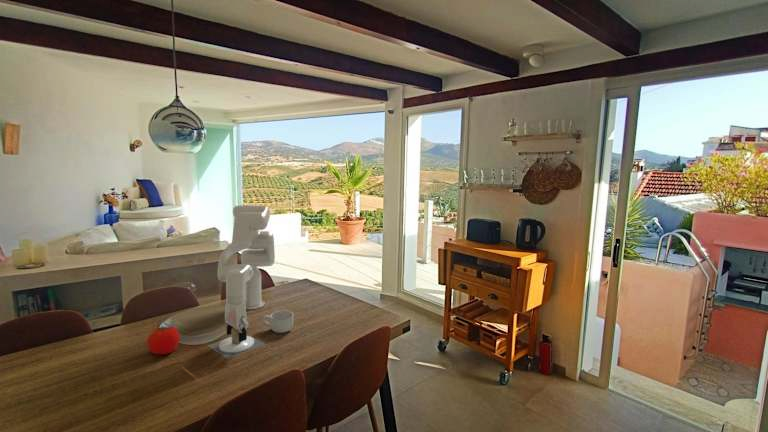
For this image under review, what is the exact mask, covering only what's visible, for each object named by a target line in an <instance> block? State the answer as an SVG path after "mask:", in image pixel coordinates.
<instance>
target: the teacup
mask: <svg viewBox="0 0 768 432" xmlns="http://www.w3.org/2000/svg"><path fill="white" fill-rule="evenodd" d="M294 316H295V314H294V312H292V311H290V310H285V309H284V310H275V311H273V312H272V313H270V315H269V314H266V315H264V316H263V317H262V322H263V323H264V324H265V325H267V326H268V327H270V329H271V330H272V331H273V332H274V333H278V334H283V333H287V332H290V331H291V330H292V328H293V327H294ZM266 318H267V319H268V320H269V321H270V322H268V321H267V320H266Z"/></svg>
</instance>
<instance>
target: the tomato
mask: <svg viewBox="0 0 768 432" xmlns="http://www.w3.org/2000/svg"><path fill="white" fill-rule="evenodd" d="M179 343H180V333H179V331H178V329H177V328H176V327H175V326H173V325H172V326H161V327H157V328H156V329H154V330H153V331H152V332H150V333H149V335H148V336H147V339H146V346H147V347H148V350H150V351H151V352H152V353H153V354H155V355H167V354H169V353H172V352H174V351H175V350H176V349H177V347H178V346H179Z"/></svg>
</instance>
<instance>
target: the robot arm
mask: <svg viewBox="0 0 768 432" xmlns="http://www.w3.org/2000/svg"><path fill="white" fill-rule="evenodd" d="M232 214H233V217H234V221H233V229H232V238H231V242H230V244H229V245H227V246H226V247H225V248H224V249H223V251H222V252H221V254H220V256H219V259H218V264H217V274H216V276H217V279H218V280H219V282H221V283H225V295H226V296H225V306H224V322H225V326H226V335H227V336H230V335H232V332H231V329H232V328H233V327H234V328H237V327H238V329H239V331H240V332H239V342H242V341H245V340H246V339H247V334H248V332H247V331H248V329H249V326H250V325H249V322H248V320H247V318H248V317H247V310H257V309H260V308H262V307H263V306H265V301H264V300H262V273H261V271H260V269H259V267H260V268H261V267H272V266H273V265H274V264H275V260H276V259H275V257H276V256H275V252H276V251H275V238H274V237H275V236H274V234H273V232H271V231H266V228H267V226H268V224H269V222H270V221H269V220H270V217H271V212H270V208H269V207H268V206H267V205H245V204H244V205H243V204H242V205H236V206H234V207H233V208H232ZM263 230H264V231H263ZM239 252H240V253H241V254H240V263H241V264H240V263H239V264H238V263H237V264H236V263H235V264H232V263H231V264H230V263H229V264H227V262H228V260H229V259H230V257H232V256H233V255H234V254H236V253H239ZM241 327H242V329H241Z"/></svg>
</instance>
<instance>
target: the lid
mask: <svg viewBox="0 0 768 432" xmlns="http://www.w3.org/2000/svg"><path fill="white" fill-rule="evenodd" d="M242 328H243V326H242V327H241V329H242ZM231 332H232V334H231V336H229V337H227V338H225V339H222V340H223V341H222V340H220V341H221V342H220V343H219V350H220V351H222V352H225V353H238V352H242V351H246V350H248V349H250V348H251V347H252V346H253V345H254V339H253V338H254V337H253V336H252V337H253V338H252V337H250V336H251V335H250V336H247V339H246V340H245V341H242V342H239V332H240V331H239V329H238V327H237V328H234V327H233V328H232V329H231Z"/></svg>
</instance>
